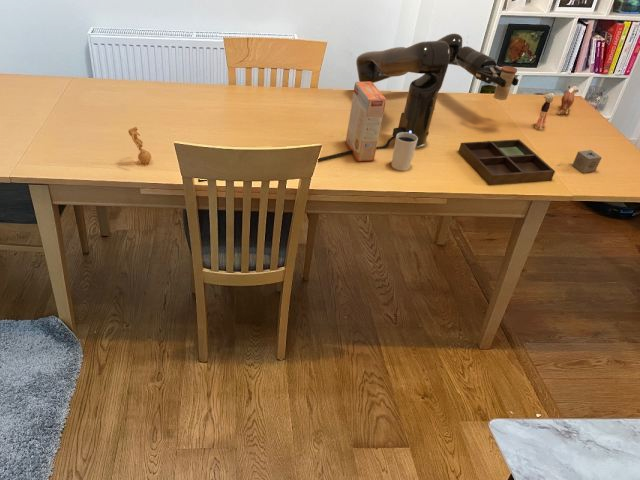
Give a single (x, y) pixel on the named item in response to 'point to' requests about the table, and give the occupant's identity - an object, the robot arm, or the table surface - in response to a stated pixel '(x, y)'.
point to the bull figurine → (568, 98)
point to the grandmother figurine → (544, 111)
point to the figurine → (143, 155)
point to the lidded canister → (507, 75)
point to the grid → (505, 162)
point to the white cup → (404, 150)
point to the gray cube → (586, 161)
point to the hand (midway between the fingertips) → (510, 83)
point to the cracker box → (365, 120)
